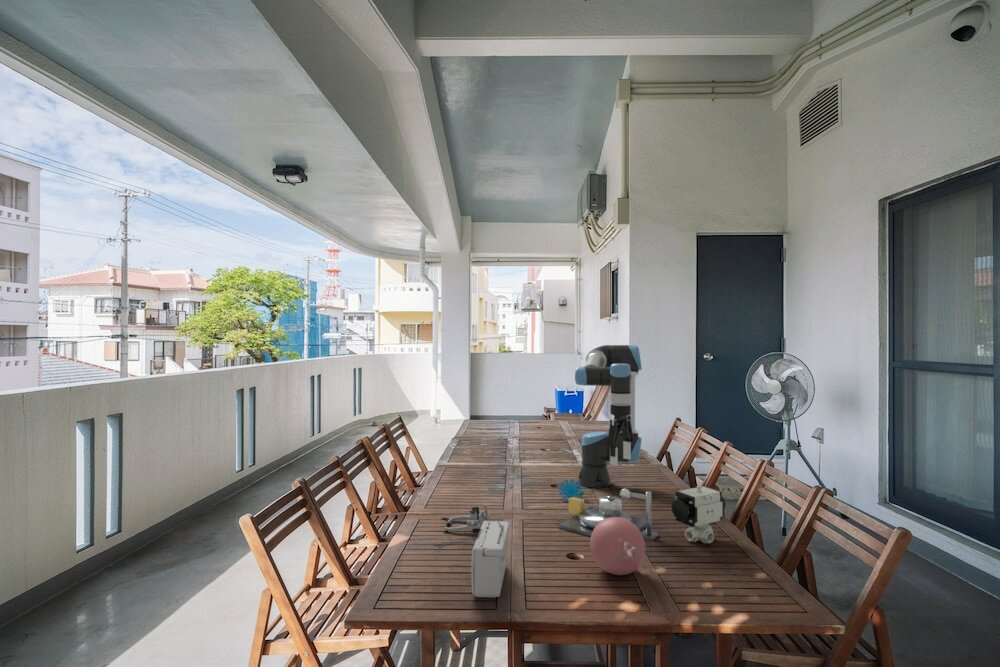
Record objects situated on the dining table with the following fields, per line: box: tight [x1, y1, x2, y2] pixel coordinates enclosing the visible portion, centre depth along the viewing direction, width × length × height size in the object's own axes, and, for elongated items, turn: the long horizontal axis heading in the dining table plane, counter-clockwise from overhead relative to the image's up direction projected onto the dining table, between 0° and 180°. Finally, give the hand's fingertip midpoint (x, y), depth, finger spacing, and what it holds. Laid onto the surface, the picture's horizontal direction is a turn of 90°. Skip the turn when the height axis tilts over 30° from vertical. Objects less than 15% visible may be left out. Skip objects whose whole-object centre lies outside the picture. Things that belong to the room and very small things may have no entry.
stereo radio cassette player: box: [470, 519, 510, 598], centre depth 140 cm, size 21×8×20 cm, turn 174°
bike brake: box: [441, 503, 491, 532], centre depth 180 cm, size 14×7×20 cm
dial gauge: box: [619, 488, 659, 541], centre depth 174 cm, size 5×12×15 cm, turn 53°
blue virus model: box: [558, 478, 586, 502], centre depth 212 cm, size 11×6×10 cm
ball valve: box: [671, 485, 726, 544], centre depth 168 cm, size 18×8×18 cm, turn 117°
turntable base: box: [558, 506, 646, 537], centre depth 181 cm, size 24×24×1 cm
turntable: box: [568, 496, 631, 529], centre depth 183 cm, size 18×23×6 cm
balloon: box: [589, 517, 646, 576], centre depth 143 cm, size 15×20×15 cm
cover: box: [598, 494, 623, 517], centre depth 185 cm, size 8×8×6 cm
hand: (620, 461), depth 192 cm, fingers open, 11 cm apart
